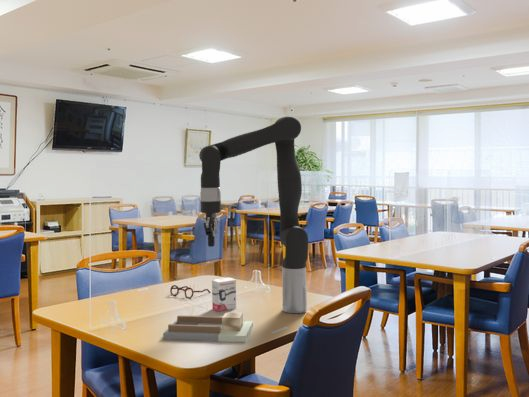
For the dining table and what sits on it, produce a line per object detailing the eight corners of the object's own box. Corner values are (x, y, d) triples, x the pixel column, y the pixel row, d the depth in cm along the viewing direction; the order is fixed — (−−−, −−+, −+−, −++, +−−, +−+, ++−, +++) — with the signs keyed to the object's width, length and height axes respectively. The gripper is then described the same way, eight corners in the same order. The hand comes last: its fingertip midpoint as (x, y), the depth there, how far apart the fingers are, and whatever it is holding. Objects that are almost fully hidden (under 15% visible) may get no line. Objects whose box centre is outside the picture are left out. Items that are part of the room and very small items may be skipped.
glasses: (169, 296, 228) (169, 285, 227) (189, 290, 239) (189, 279, 238) (192, 300, 221) (192, 288, 220) (211, 293, 231) (211, 282, 231)
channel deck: (253, 326, 181) (253, 315, 181) (245, 342, 165) (245, 329, 165) (177, 324, 185) (177, 313, 185) (163, 339, 169) (162, 327, 169)
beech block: (243, 325, 176) (243, 312, 176) (239, 331, 170) (239, 317, 170) (226, 325, 177) (225, 312, 177) (222, 330, 171) (221, 317, 171)
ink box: (217, 311, 201) (217, 282, 200) (211, 308, 205) (211, 279, 204) (236, 308, 205) (236, 279, 204) (230, 305, 209) (230, 277, 209)
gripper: (216, 201, 183) (217, 249, 184) (224, 198, 196) (224, 243, 198) (196, 201, 184) (197, 249, 185) (204, 198, 197) (205, 243, 199)
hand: (211, 246), depth 192 cm, fingers closed
